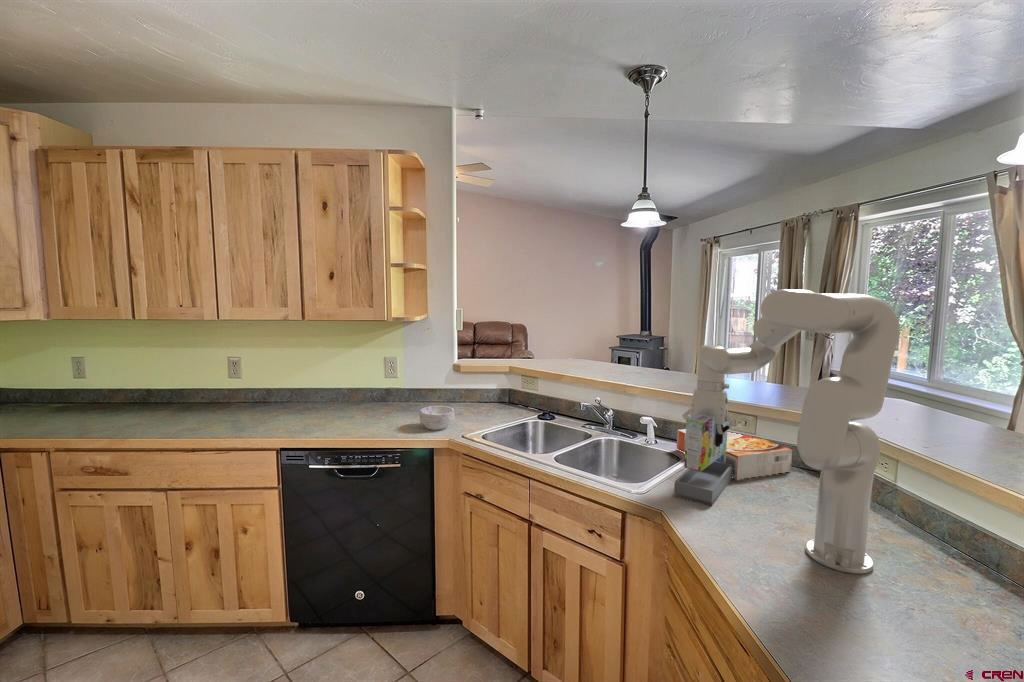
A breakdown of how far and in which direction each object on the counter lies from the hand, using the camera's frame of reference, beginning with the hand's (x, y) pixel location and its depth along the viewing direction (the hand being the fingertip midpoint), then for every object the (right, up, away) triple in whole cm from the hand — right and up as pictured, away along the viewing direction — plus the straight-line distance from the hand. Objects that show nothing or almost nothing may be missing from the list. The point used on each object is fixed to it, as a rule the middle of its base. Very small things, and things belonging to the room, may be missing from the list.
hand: (706, 442), depth 143 cm
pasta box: (+24, -9, +10) cm, 27 cm away
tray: (0, -14, +1) cm, 14 cm away
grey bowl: (-93, -7, +62) cm, 112 cm away
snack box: (0, -6, +1) cm, 6 cm away
